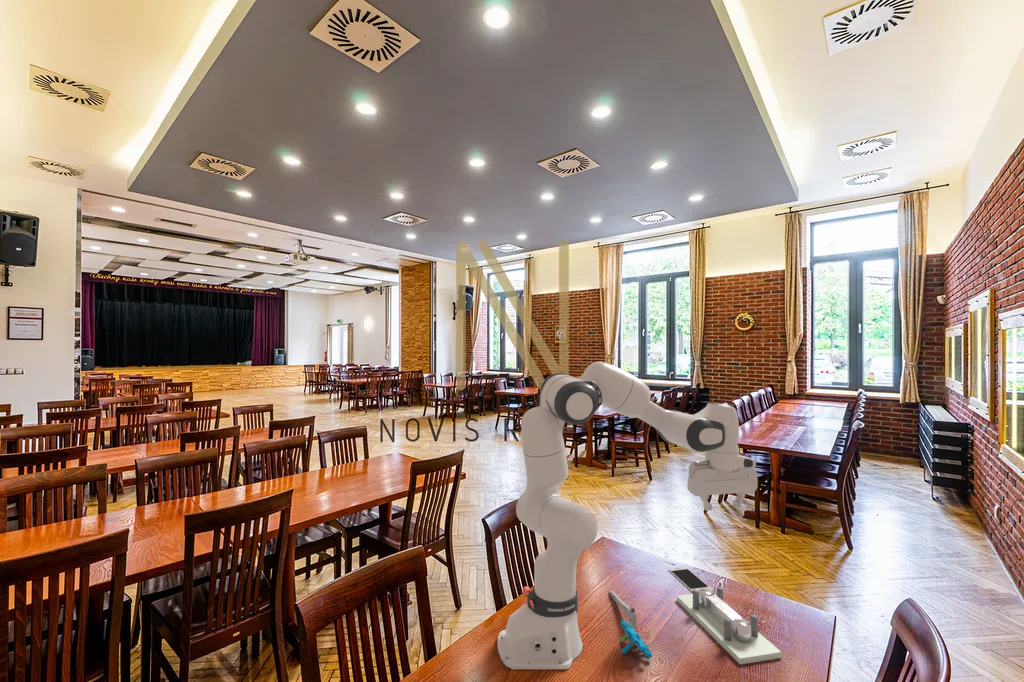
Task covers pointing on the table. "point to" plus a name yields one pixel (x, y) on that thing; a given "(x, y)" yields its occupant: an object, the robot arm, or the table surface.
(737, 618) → the grey dumbbell
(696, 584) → the smartphone
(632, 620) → the caliper
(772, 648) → the board
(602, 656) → the table surface
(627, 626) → the gear
